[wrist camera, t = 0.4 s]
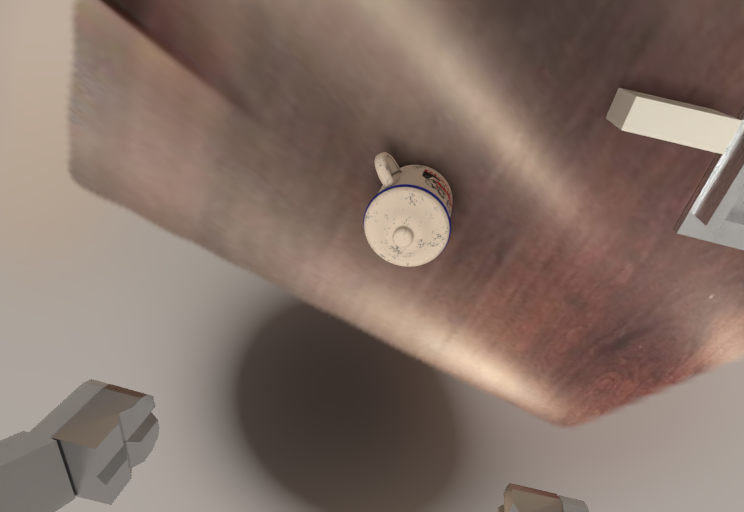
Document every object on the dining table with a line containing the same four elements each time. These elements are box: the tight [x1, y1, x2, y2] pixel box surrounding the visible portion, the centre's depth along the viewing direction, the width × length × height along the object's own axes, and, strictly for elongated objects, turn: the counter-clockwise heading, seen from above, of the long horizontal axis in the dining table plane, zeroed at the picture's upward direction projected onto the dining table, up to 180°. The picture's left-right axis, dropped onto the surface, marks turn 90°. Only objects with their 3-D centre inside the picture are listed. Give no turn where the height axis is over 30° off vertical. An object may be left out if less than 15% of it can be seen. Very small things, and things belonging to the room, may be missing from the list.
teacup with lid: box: [364, 152, 453, 266], centre depth 49 cm, size 12×9×12 cm
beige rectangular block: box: [606, 88, 742, 154], centre depth 43 cm, size 3×9×6 cm, turn 79°
